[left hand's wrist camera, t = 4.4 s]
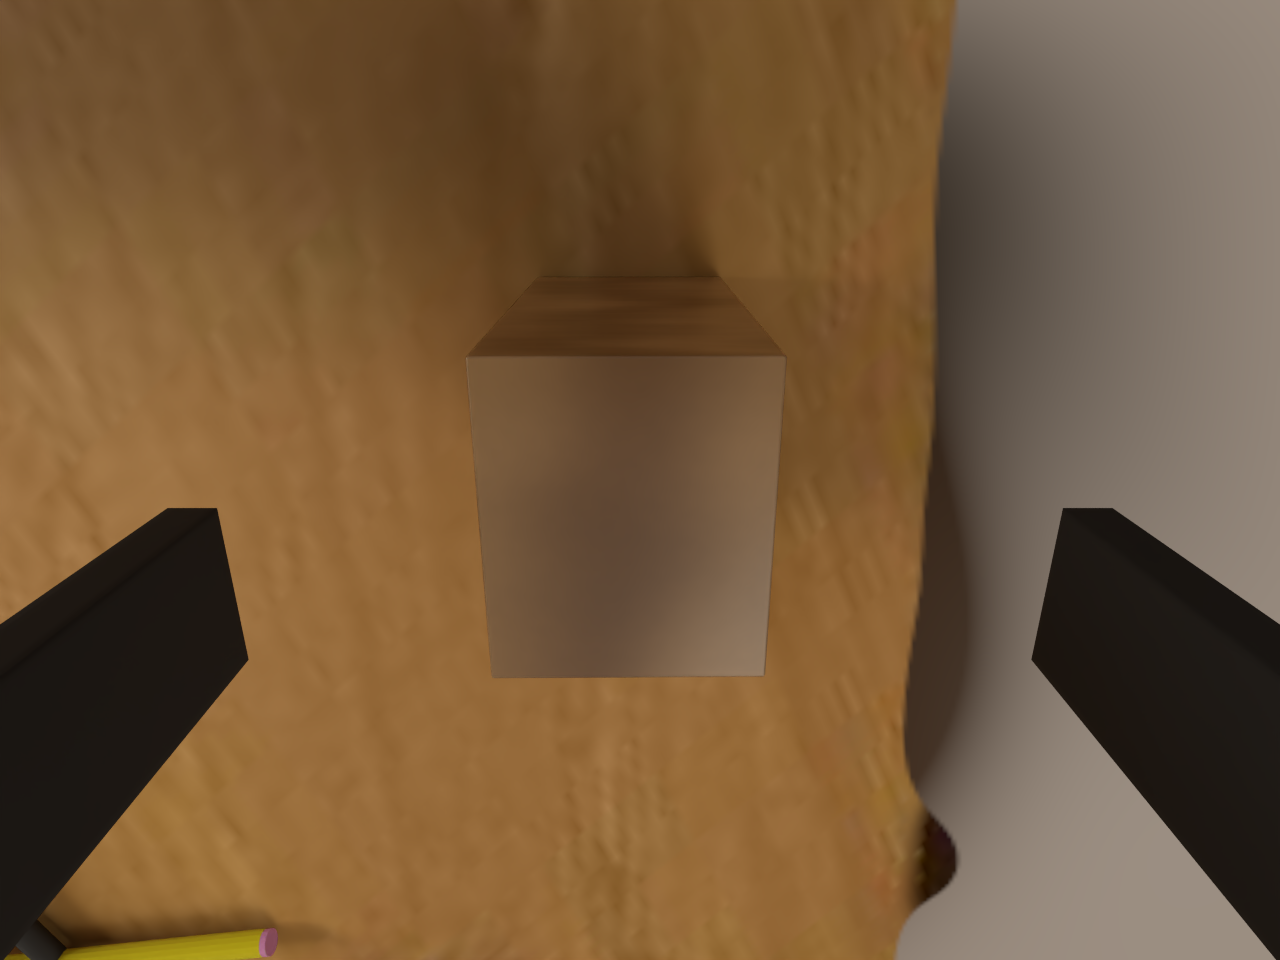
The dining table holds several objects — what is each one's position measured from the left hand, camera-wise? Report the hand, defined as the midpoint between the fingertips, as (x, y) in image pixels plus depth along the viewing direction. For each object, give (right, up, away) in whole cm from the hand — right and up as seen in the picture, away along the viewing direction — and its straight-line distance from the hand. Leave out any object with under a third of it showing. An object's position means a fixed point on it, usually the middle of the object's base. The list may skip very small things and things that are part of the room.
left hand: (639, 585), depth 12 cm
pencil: (-23, -17, +20) cm, 35 cm away
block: (0, +5, +11) cm, 12 cm away
